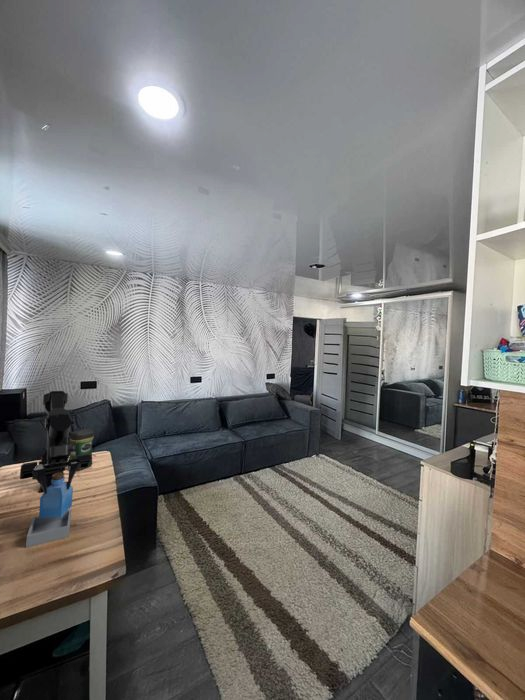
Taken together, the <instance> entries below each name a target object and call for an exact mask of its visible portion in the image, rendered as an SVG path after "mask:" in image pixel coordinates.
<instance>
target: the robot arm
mask: <svg viewBox="0 0 525 700" xmlns="http://www.w3.org/2000/svg"><path fill="white" fill-rule="evenodd" d="M68 399H69V398H68V393H67V392H65V390H51V391H49V392H48V393H45V394H43V396H42V406H43V407H44V408H43V409H44V411H45V412H46V414H47V417H45V419H44V420H45V421H44V429H46V430H47V431H46V432H47V433H46V435H47V436H46V437H47V438H46V450H45V451H44V453H43V454H42V456H41V458H40V459H41V460H40V461H31V462H25V463H22V464H21V465H20V472H19V473H20V474H19V479H20V480H26V479H32V480H36V482H38V483H39V485H40V486H39V488H38V490H37V491H38V493H45V494H47V488H48V487H49V486H50V485H51V484H52V483H51V479H52V475H53V474H55V473H59V472H63V473H65V471H66V467H67V468H68V466H70V470H69V469H68V470H69V471H68V477H67V478H68V479H67V482H68V489H69V488H70V485H71V486H72V481H73V479H74V476H75V474H76V473H77V472H80V471H81V470H80V468H86V467H88V468H90V467H91V466H90V463H91V460H92V461H93V456H92V457H91V454H90V453H87V454H81V455H78V457H77V459H73V460H69V457H70V452H75V451H76V442H70V441H69V434H70V431H71V427H72V426H73V425H74V424H75V420H74V419H73V418H72V416H71V415H70V413H69V410H67V409H65V407H66V404H67V403H68ZM89 466H90V467H89ZM86 469H87V468H86ZM79 470H80V471H79Z"/></svg>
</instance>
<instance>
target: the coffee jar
mask: <svg viewBox="0 0 525 700" xmlns="http://www.w3.org/2000/svg"><path fill="white" fill-rule="evenodd" d="M94 437H95V433H94V430H93V428H89V427H88V428H84V429H79V430H75V431H72V432H71V433H70V437H69V442H76V451H75V452H69V458H68V460H73V459H77V457H78V455H81V454H87V453H90V454H91V457H92V458H93V440H94ZM92 465H93V459H92V460H91V463H90V466H89V467H86V468H80V470H79V471H78V472H80V471H83V470H86V469H88V468H90V467H92ZM67 470H70V466H67Z"/></svg>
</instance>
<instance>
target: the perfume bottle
mask: <svg viewBox="0 0 525 700" xmlns="http://www.w3.org/2000/svg"><path fill="white" fill-rule="evenodd" d="M65 478H66V477H65V472H59V473H55V474H53V475H52V479H51V483H52V484H51V485H50V486H49V487H48V488H47V494H45V493H44V492H42V495H41V496H40V497H39V512H38V513H39V514H38V516H39V518H55V517H62V516H63V515H64V514H65V513H66V511H67V510H70V509H71V508H72V506H73V492H74V486H72V484H71V485H70V488H69V489H68V481H65V480H66V479H65Z"/></svg>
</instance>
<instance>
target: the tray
mask: <svg viewBox="0 0 525 700" xmlns="http://www.w3.org/2000/svg"><path fill="white" fill-rule="evenodd" d="M71 517H72V509H68V510H67V511H66V513H65V514H64V515H63V516H62V517H55V518H39V515H38V516H33V517H32V519H31V522H30V526H29V529H28V533H27V535H26V543H25V545H26V546H25V548H26V549H27V548H31V547H34V546H38V545H42V544H47V543H50V542H54V541H58V540H63V539H65V537H67V538H69V536H70V528H71V521H70V520H71V519H72V518H71ZM62 538H63V539H62Z"/></svg>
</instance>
